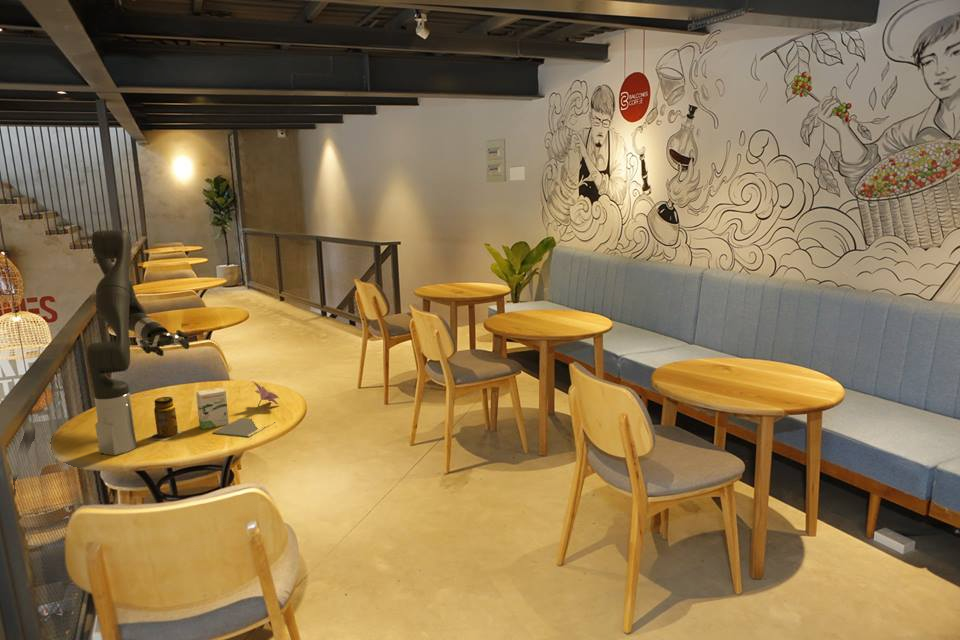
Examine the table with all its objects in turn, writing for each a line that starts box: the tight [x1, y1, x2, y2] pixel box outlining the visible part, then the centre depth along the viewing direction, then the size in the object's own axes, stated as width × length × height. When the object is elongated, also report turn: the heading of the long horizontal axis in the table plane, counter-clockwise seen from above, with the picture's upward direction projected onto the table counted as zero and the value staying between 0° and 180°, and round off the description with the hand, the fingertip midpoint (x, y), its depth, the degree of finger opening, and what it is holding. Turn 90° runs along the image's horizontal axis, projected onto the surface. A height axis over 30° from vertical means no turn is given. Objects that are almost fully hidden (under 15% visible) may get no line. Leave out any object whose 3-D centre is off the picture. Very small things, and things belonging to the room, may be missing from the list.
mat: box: [212, 417, 266, 438], centre depth 214 cm, size 14×14×1 cm
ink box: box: [195, 387, 230, 430], centre depth 217 cm, size 9×5×12 cm, turn 123°
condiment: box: [146, 396, 185, 442], centre depth 209 cm, size 7×8×12 cm
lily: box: [251, 380, 280, 410], centre depth 234 cm, size 12×12×10 cm
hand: (175, 350), depth 217 cm, fingers open, 8 cm apart
